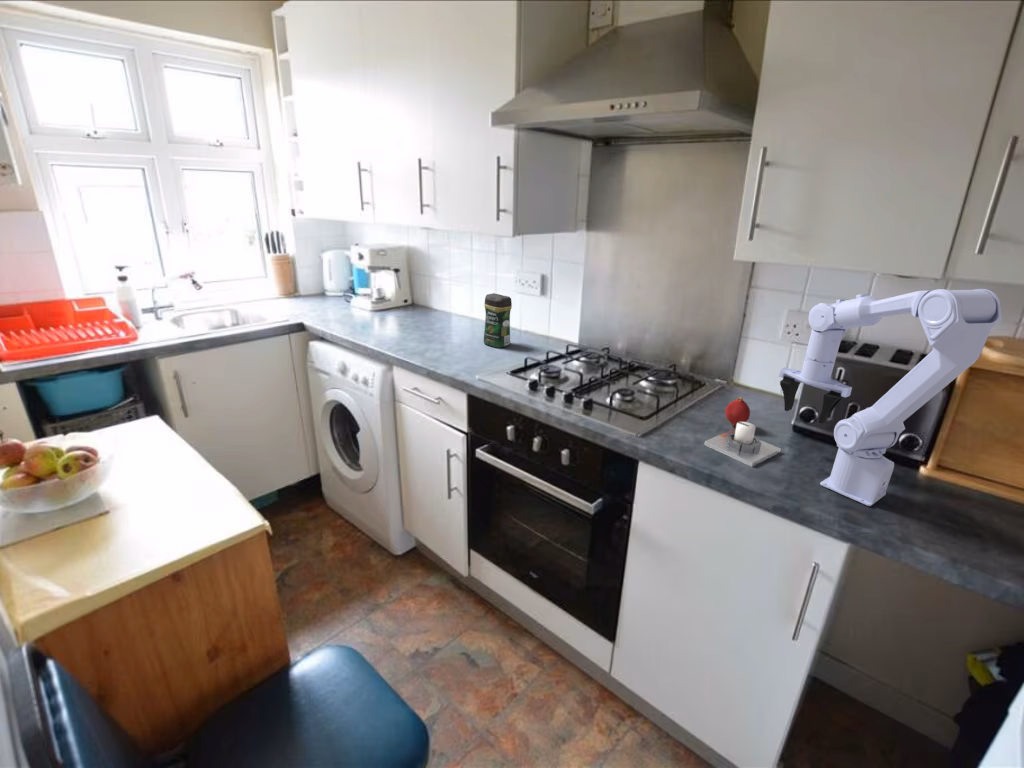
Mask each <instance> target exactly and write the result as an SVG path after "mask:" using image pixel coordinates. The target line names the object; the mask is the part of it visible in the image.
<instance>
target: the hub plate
mask: <svg viewBox="0 0 1024 768" xmlns="http://www.w3.org/2000/svg"><path fill="white" fill-rule="evenodd" d="M735 431H736V428H735V429H734V428H732V429H731V430H728V431H726V432H724V433H720V434H719V435H716V436H713V437H711V438H709V439H707V440H704V442H703V443H704V444H703V446H706V447H708V448H710V449H712V450H714V451H716V452H719V453H721V454H723V455H725V456H727V457H729V458H731V459H734V460H736V461H738V462H740V463H743V464H745V465H746V466H749V467H751V468H753V467H755V466H756V465H758V464H760V463H762V462H764V461H766V460H768V459H770V458H772V457H774V456H776V455H779V454H780V453H781V450H782V448H780V447H777V446H776V445H774V444H770V443H769V442H766V441H764V440H761V439H759V438H758V437H757V436H755V435H754V438H753V443H752V445H746V444H740V443H738V442H736V441H734V436H735Z"/></svg>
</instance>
